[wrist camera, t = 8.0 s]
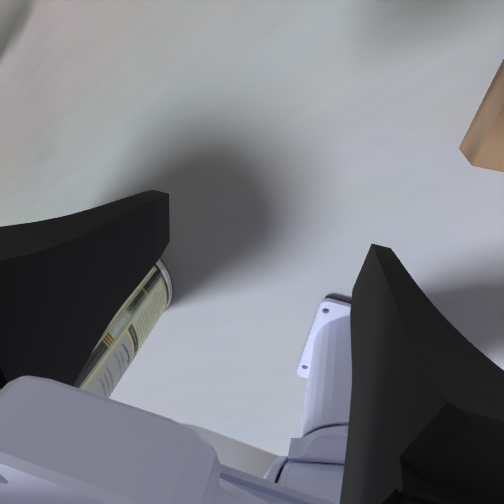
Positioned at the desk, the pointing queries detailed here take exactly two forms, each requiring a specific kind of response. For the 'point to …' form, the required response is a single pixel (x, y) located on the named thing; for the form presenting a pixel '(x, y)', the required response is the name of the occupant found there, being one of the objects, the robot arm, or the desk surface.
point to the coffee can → (126, 333)
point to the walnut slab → (488, 129)
